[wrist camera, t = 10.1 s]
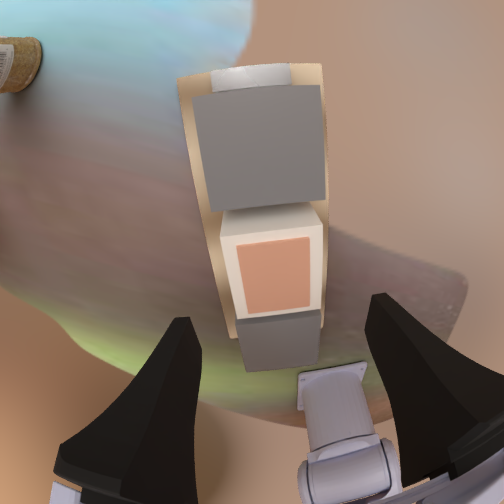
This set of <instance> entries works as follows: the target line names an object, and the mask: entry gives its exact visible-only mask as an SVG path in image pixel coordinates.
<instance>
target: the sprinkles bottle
mask: <svg viewBox="0 0 504 504" xmlns="http://www.w3.org/2000/svg"><path fill="white" fill-rule="evenodd" d="M41 52H42V51H41V46H40V43H39V41H38V40H37V39H36V38H33V37H25V38H19V37H6V36H0V93H6V92H19V91H21V90H23V89H24V88H25V87H27V86H28V84H30V82H31V81H32V80H33V78H34V77H35V75H36V73H37V70H38V68H39V65H40V60H41Z"/></svg>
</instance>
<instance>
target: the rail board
mask: <svg viewBox="0 0 504 504" xmlns="http://www.w3.org/2000/svg"><path fill="white" fill-rule="evenodd" d="M177 86H178V92H179V99H180V105H181V111H182V117H183V123H184V129H185V135H186V141H187V146H188V152H189V157H190V163H191V168H192V173H193V178H194V184H195V189H196V194H197V198H198V203H199V208H200V213H201V218H202V222H203V227H204V232H205V236H206V241H207V245H208V250H209V254H210V259H211V263H212V267H213V271H214V276H215V280H216V284H217V288H218V292H219V296H220V300H221V304H222V308H223V312H224V316H225V320H226V324H227V328H228V332H229V336H230V338H238V340H239V344H240V348H241V352H242V357H243V361H244V365H245V369H246V372H257V371H268V370H277V369H285V368H293V367H300V366H307V365H314V364H317V361H318V351H319V341H320V330H321V328H323V320H324V308H325V294H326V278H327V257H328V218H329V217H328V215H329V213H328V212H329V203H328V202H329V195H328V194H329V189H328V149H327V130H326V129H327V127H326V113H325V99H324V87H323V77H322V67H321V64H311V63H310V64H309V63H308V64H290V63H280V64H263V65H252V66H242V67H234V68H226V69H220V70H213V71H210V72H207V73H201V74H196V75H191V76H186V77H181V78H177ZM307 201H309V202H310V203H311V205H312V207H313V209H314V210H315V212H316V214H317V215H318V217H319V219H320V221H321V222H322V224H323V264H322V294H321V309H315V310H308V311H301V312H294V313H286V314H279V315H270V316H262V317H253V318H243V319H237V315H236V311H235V306H234V302H233V297H232V293H231V288H230V284H229V279H228V274H227V270H226V265H225V260H224V256H223V251H222V246H221V241H220V232H221V225H222V218H223V212H224V211H226V210H233V209H242V208H250V207H259V206H267V205H277V204H286V203H296V202H307Z"/></svg>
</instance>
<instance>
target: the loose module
mask: <svg viewBox="0 0 504 504" xmlns="http://www.w3.org/2000/svg"><path fill="white" fill-rule="evenodd" d="M220 241H221V246H222V251H223V256H224V260H225V265H226V270H227V274H228V279H229V284H230V288H231V293H232V297H233V302H234V306H235V311H236V315H237V319H243V318H253V317H262V316H270V315H279V314H286V313H294V312H301V311H308V310H315V309H321V294H322V264H323V224H322V222H321V221H320V219H319V217H318V215H317V214H316V212H315V210H314V209H313V207H312V205H311V203H310V202H309V201H307V202H296V203H286V204H277V205H267V206H259V207H250V208H242V209H233V210H226V211H224V212H223V218H222V225H221V232H220Z"/></svg>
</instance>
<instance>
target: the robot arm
mask: <svg viewBox="0 0 504 504" xmlns="http://www.w3.org/2000/svg"><path fill="white" fill-rule="evenodd" d="M364 330H365V334H366V338H367V341H368V345H369V348H370V351H371V354H372V356H373V359H374V361H375V364H376V366H377V369H378V371H379V374H380V376H381V379H382V381H383V384H384V386H385V389H386V391H387V394H388V397H389V400H390V404H391V408H392V412H393V417H394V421H395V426H396V431H397V437H398V445H399V453H400V466H399V461H398V458H397V454H396V451H395V448H394V445H393V443H392V441H390V440H388V439H386V438H383V439H379V436H378V433H375V429H374V426H373V422H372V419H371V415H370V412H369V408H368V405H367V402H366V398H365V395H364V392H363V388H362V385H361V381H362V379H363V376H364V373H365V370H366V368H367V362H365V361H364V362H359V363H354V364H349V365H344V366H339V367H334V368H328V369H322V370H316V371H310V372H303V373H300V374H299V375H298V397H297V409H298V410H304V412H305V418H306V425H307V431H308V438H309V445H310V453H307V458H308V460H305V461H303V462H302V464H301V465H300V467H299V468H298V477H297V478H298V489H299V494H300V498H301V500H302V503H303V504H340V503H343V504H412V503H414V502H416V501H417V502H416V504H499V503H500V502H501V501H502V500H503V499H504V375H502V374H499V373H497V372H494V371H492V370H490V369H488V368H486V367H484V366H482V365H480V364H478V363H476V362H475V361H473V360H471V359H469V358H467V357H466V356H464V355H463V354H461V353H459V352H458V351H456V350H455V349H453V348H452V347H450V346H449V345H447V344H446V343H445V342H443V341H442V340H441V339H440V338H438V337H437V336H436V335H434V334H433V333H432V332H431V331H429V330H428V329H427V328H426V327H424V326H423V325H422V324H421V323H420V322H419V321H417V320H416V319H415V318H414V317H413V316H412V315H411V314H409V313H408V312H407V311H406V310H405V309H404V308H403V307H401V306H400V305H399V304H398V303H397V302H396V301H395V300H394V299H392V298H391V297H390V296H389V295H388V294H387V293H380V294H374V295H372V298H371V302H370V307H369V312H368V316H367V321H366V325H365V329H364ZM201 370H202V348H201V346H200V343H199V341H198V338H197V335H196V333H195V330H194V327H193V325H192V322H191V319H190V317H179V318H174V320H173V321H172V323H171V324H170V326H169V327H168V329H167V331H166V332H165V334H164V335H163V337H162V339H161V340H160V342H159V343H158V345H157V346H156V348H155V349H154V351H153V352H152V354H151V355H150V357H149V358H148V360H147V361H146V363H145V364H144V365H143V367H142V368H141V370H140V371H139V372H138V374H137V375H136V376H135V378H134V379H133V380H132V381H131V383H130V384H129V385H128V387H127V388H126V389H125V390H124V391H123V392H122V393H121V394H120V396H119V397H118V398H117V399H116V400H115V401H114V402H113V403H112V404H111V405H110V406H109V407H108V408H107V409H106V410H105V411H104V412H103V413H102V414H101V415H100V416H98V417H97V418H96V419H95V420H94V421H92V422H91V423H90V424H89V425H88V426H87V427H85V428H84V429H83V430H81V431H80V432H79V433H77V434H76V435H74V436H73V437H71V438H70V439H68V440H67V441H65V442H64V443H62V444H60V447H59V451H58V454H57V458H56V462H55V466H54V470H53V472H54V473H55V474H56V475H58V476H59V477H61V478H64V479H66V480H67V481H70V482H72V483H74V484H77V485H79V486H81V487H82V492H80V491H77V490H75V489H72V488H70V487H68V486H65V485H63V484H61V483H59V482H56V481H54V482H53V487H52V492H51V497H50V503H49V504H198V498H197V489H196V481H195V480H196V479H195V462H194V424H195V414H196V406H197V400H198V393H199V386H200V379H201ZM400 467H401V471H400ZM428 477H429V478H430V481H428V482H426V483H424V484H421V485H419V486H417V487H414V488H412V489H409V490H407V491H404V492H402V487H403V488H405V487H407V486H410V485H412V484H415V483H417V482H419V481H421V480H424V479H426V478H428ZM401 483H402V486H401ZM379 492H380V493H379ZM376 493H378V494H376ZM373 494H375V495H373ZM370 495H373V496H370ZM366 496H369V497H366ZM363 497H366V498H363ZM359 498H362V499H359ZM356 499H359V500H356ZM352 500H355V501H352ZM348 501H352V502H348ZM344 502H347V503H344Z"/></svg>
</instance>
